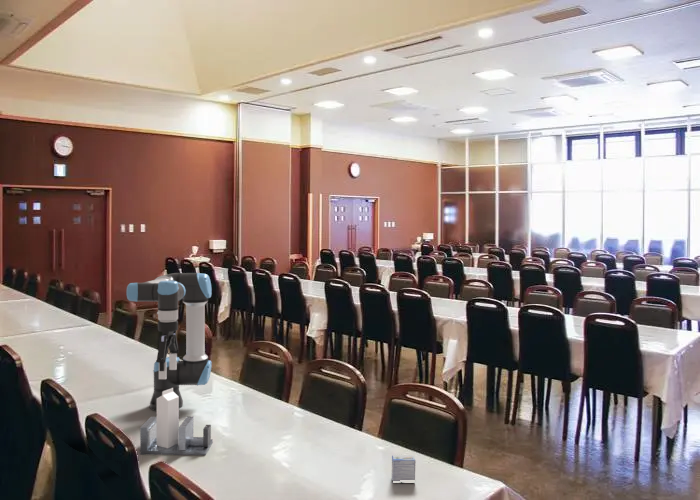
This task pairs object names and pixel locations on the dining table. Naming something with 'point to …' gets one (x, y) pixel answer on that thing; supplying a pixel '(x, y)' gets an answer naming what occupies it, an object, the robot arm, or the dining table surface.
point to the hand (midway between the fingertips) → (167, 374)
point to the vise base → (150, 447)
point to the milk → (167, 419)
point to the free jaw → (187, 435)
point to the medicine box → (403, 467)
